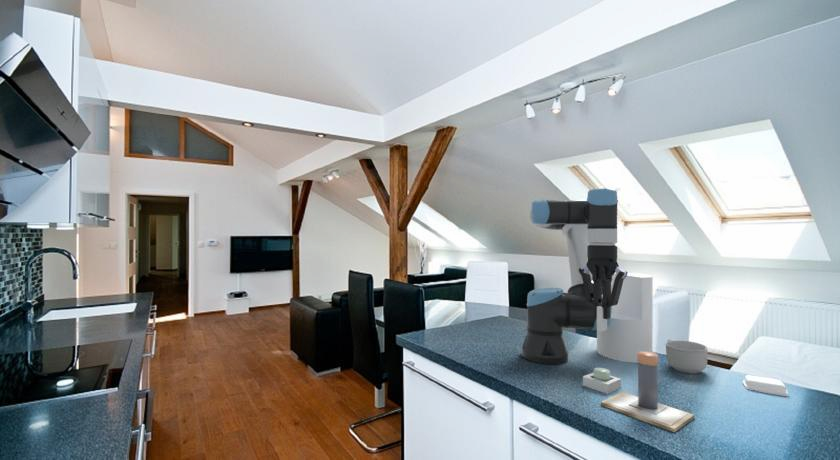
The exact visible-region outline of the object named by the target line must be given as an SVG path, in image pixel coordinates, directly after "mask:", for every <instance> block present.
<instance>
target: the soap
mask: <svg viewBox="0 0 840 460" xmlns="http://www.w3.org/2000/svg"><path fill="white" fill-rule="evenodd" d="M743 384H744V385H743ZM742 385H743V388H745V389H746V390H748V389H749V390H748V391H753V390H755V392H758V391H759V393H764V394H769V395H776V396H783V397H789V392H788V390H787V387H786V386H785V384H784V383H783V382H782V381H781V380H780V379H774V378H769V377H762V376H756V375H745V376H744V379H743V380H742Z"/></svg>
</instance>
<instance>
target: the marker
mask: <svg viewBox="0 0 840 460" xmlns="http://www.w3.org/2000/svg"><path fill="white" fill-rule="evenodd" d="M658 365H659V355H658V354H656V353H654V352H653V353H651V352H638V363H637V396H638V405H639V406H641V407H643V408H646V409H652V410H654V409H657V408H658V403H659V399H658V397H659V396H658V393H659V392H658V391H659V389H658V387H659V384H658V383H659V381H658V380H659V379H658V377H659V376H658V375H659V374H658V372H659V371H658V370H659V369H658V368H659V367H658Z"/></svg>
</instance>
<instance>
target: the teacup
mask: <svg viewBox="0 0 840 460" xmlns="http://www.w3.org/2000/svg"><path fill="white" fill-rule="evenodd" d="M664 344H665V345H664V346H665V353H666V360H667V363H668V364H669V365H670V366H671V367H672V368H673V369H674V370H676V371H678V372H680V373H686V374H698V373H701V371H704V370H705V369H706V368H707V366H708V347H707V346H706V345H705V344H702V343H699V342H694V341H690V340H675V339H673V338H672V339H668V340H667V341H666V342H665V343H664Z"/></svg>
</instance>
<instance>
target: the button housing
mask: <svg viewBox="0 0 840 460" xmlns="http://www.w3.org/2000/svg"><path fill="white" fill-rule="evenodd" d="M582 386H583V387H587V388H589V389H593V390H595V391H598V392H601V393H603V394H606V395H609V394H611V393H614V392H615V391H617V390H620V389H622V378H619V377H616V376H612V375H610V380H609V381H607V382H604V381H601V380H598V379H595V378H594V371H592V372H591V373H588V374H586V375H583V376H582Z"/></svg>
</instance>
